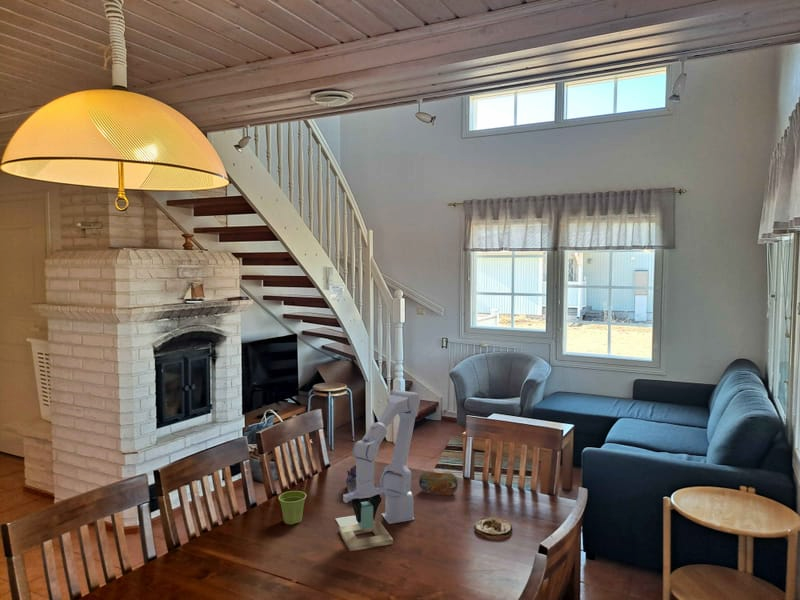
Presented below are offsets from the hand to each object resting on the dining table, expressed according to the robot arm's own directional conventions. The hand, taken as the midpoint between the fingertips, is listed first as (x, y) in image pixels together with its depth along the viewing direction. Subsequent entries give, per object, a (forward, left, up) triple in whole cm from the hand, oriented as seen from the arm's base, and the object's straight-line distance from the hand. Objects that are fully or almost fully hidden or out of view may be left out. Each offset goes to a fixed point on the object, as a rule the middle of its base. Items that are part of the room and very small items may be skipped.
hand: (365, 519), depth 179 cm
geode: (-8, -37, -6) cm, 39 cm away
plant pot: (+20, -20, -6) cm, 29 cm away
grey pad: (+2, -12, -6) cm, 13 cm away
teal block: (0, 0, -2) cm, 2 cm away
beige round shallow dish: (-41, +10, -6) cm, 43 cm away
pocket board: (0, 0, -6) cm, 6 cm away
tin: (-37, -25, -6) cm, 45 cm away
